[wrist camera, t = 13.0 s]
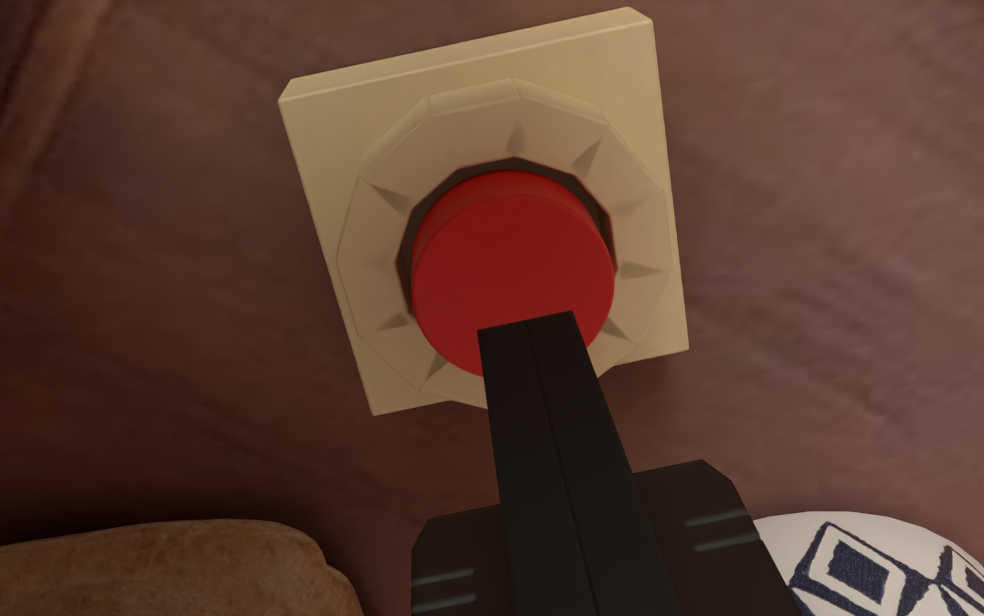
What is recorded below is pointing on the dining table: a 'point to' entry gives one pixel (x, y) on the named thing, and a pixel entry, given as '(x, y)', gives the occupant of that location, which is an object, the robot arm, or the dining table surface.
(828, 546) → the planter
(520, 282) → the red button
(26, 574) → the stone cup
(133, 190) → the dining table surface
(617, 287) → the button box
